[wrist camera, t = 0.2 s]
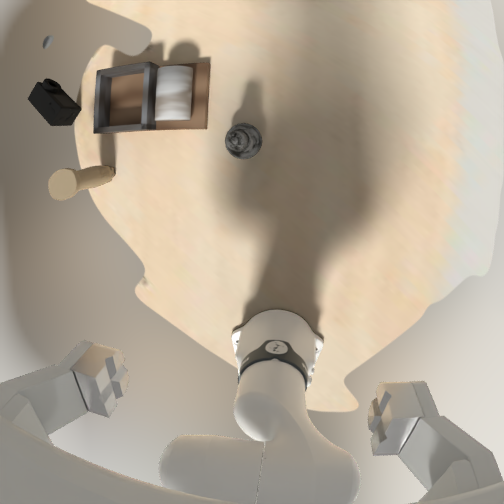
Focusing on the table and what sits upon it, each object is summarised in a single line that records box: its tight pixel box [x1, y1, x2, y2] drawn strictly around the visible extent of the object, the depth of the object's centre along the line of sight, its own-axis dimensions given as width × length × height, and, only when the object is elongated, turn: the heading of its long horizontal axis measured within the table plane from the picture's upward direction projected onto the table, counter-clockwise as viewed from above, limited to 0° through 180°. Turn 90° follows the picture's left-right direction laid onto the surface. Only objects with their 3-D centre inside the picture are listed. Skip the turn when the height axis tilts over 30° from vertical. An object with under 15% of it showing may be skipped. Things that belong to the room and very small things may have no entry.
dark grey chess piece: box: [225, 123, 262, 159], centre depth 47 cm, size 6×6×12 cm
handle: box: [48, 166, 115, 200], centre depth 50 cm, size 5×6×15 cm
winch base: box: [94, 62, 210, 134], centre depth 48 cm, size 12×20×7 cm, turn 87°
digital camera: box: [28, 79, 81, 126], centre depth 50 cm, size 10×5×7 cm, turn 46°
